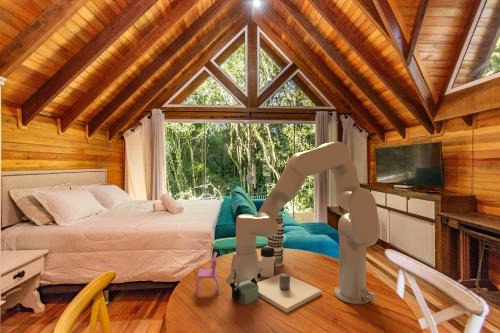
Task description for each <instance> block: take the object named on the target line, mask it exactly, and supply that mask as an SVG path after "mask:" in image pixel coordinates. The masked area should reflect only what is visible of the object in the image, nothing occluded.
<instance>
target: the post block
mask: <svg viewBox="0 0 500 333" xmlns="http://www.w3.org/2000/svg"><path fill="white" fill-rule="evenodd" d="M257 285H258V286H259V291H258V298H260V299H263V300H265V301H266V302H268V303H269V304H271V305H273V306H275V307H276V308H278V309H280V310H281V311H283V312H284V313H286V314H288V313H289V312H291V311H293V310H295V309H296V308H298V307H301V306H302V305H304V304H306V303H308V302H310V301H312V300H313V299H315V298H317V297H319V296H321V295H322V290H321V289H319V288H317V287H315V286H314V285H313V286H312V285H311V284H308V283H306V282H303V281H302V280H299V279H297V278H296V277H293V276H291V274H288V273H285V272H281V273H280V274H275V276H274V277H271V278H268V277H267V278H266V279H263V280H261V281H258V282H257Z"/></svg>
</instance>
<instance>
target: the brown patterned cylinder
mask: <svg viewBox="0 0 500 333" xmlns="http://www.w3.org/2000/svg"><path fill="white" fill-rule="evenodd" d="M275 220H276V221H277V223H278V226H279V228H278V232H277V233H276V235H274V236H272V237H266V242H267V245H266V246H268V247H272V248H273V249H274V257H276V267H281V266H283V265H284V245H283V244H284V238H285V236H283V235H285V233H284V231H285V229H283V228H284V227H285V225H284V216H283V215H282V213H280V212H279V214H278V215H277V217H276V219H275ZM285 228H286V227H285Z"/></svg>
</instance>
